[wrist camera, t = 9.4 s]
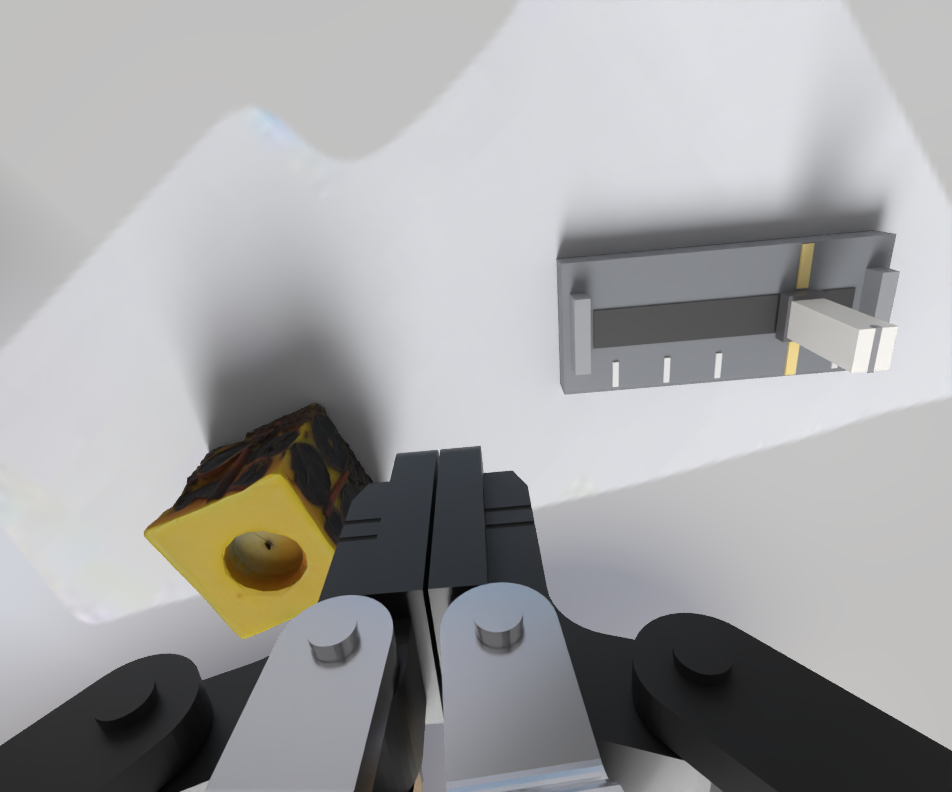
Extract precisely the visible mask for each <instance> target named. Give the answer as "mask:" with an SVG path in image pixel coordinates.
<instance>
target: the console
mask: <svg viewBox="0 0 952 792" xmlns="http://www.w3.org/2000/svg"><path fill="white" fill-rule="evenodd" d="M895 237H896V234H893V233H887V232H881V231H875V230H874V231H863V232H852V233H841V234H829V235H818V236H807V237H796V238H785V239H774V240H763V241H751V242H740V243H729V244H718V245H707V246H696V247H685V248H673V249H662V250H651V251H640V252H629V253H618V254H606V255H595V256H584V257H573V258H562V259H557V286H558V320H559V355H560V384H561V387H562V389H563V391H564V394H577V393H589V392H600V391H612V390H624V389H636V388H647V387H659V386H671V385H682V384H694V383H706V382H718V381H729V380H741V379H753V378H765V377H776V376H788V375H800V374H811V373H823V372H835V371H847V370H845V369H843V368H841V367H839V366H838V365H836V364H834V363H832V362H830V361H828V360H827V359H825V358H823V357H821V356H819V355H817V354H816V353H814V352H812V351H810V350H808V349H807V348H805V347H803V346H801V345H799V344H797V343H796V342H781V341H780V340H778V339H776V338H775V335H776V327H777V320H778V312H779V304H780V296H781V293H788V292H799V291H811V290H820V291H823V292H826V293H828V296H827V300H830V301H833V302H835V303H838V304H840V305H843V306H846V307H848V308H851V309H854V310H856V311H859V312H862V313H864V314H867V315H869V316H872V317H875V318H877V319H880V320H883V321H885V322H888V323H889V320H890V316H891V311H892V306H893V301H894V297H895V292H896V287H897V282H898V277H899V273H900V271H896V270H892V269H889V267H890V262H891V257H892V252H893V247H894V242H895Z"/></svg>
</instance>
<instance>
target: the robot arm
mask: <svg viewBox="0 0 952 792" xmlns="http://www.w3.org/2000/svg"><path fill="white" fill-rule="evenodd" d="M436 723H444V736H445V737H444V738H445V762H446V784H447V785H446V786H447V792H952V751H951V750H949V749H948V748H946V747H944V746H942V745H941V744H939V743H937V742H935V741H933V740H932V739H930V738H928V737H927V736H925V735H923V734H921V733H920V732H918V731H916V730H914V729H913V728H911V727H909V726H907V725H906V724H904V723H902V722H901V721H899V720H897V719H895V718H893V717H892V716H890V715H888V714H887V713H885V712H883V711H881V710H880V709H878V708H876V707H874V706H873V705H871V704H869V703H867V702H866V701H864V700H862V699H860V698H859V697H857V696H855V695H853V694H851V693H850V692H848V691H846V690H844V689H843V688H841V687H839V686H838V685H836V684H834V683H832V682H831V681H829V680H827V679H825V678H824V677H822V676H820V675H819V674H817V673H815V672H813V671H812V670H810V669H808V668H806V667H805V666H803V665H801V664H799V663H797V662H796V661H794V660H792V659H791V658H789V657H787V656H785V655H784V654H782V653H780V652H778V651H777V650H775V649H773V648H771V647H770V646H768V645H766V644H764V643H763V642H761V641H759V640H758V639H756V638H754V637H752V636H751V635H749V634H747V633H745V632H744V631H742V630H740V629H738V628H737V627H735V626H733V625H731V624H729V623H727V622H725V621H722V620H719V619H716V618H714V617H710V616H706V615H701V614H693V613H677V614H669V615H666V616H662V617H659V618H657V619H655V620H653V621H651V622H650V623H648V624H647V625H646V626H644V627H643V629H642V630H641V631H640V632H639V633H638V635H637V637H636V639H635V640H633V639H627V638H622V637H617V636H612V635H606V634H602V633H598V632H594V631H591V630H589V629H586V628H583V627H581V626H579V625H578V624H575V623H574V622H572V621H571V620H569V619H568V618H566V617H565V616H564V615H563V614H562V613H561V612H560V611H559V610H558V609H557V608H556V607H555V605H554V604H553V602H552V600H551V599H550V597H549V594H548V590H547V586H546V581H545V575H544V570H543V566H542V560H541V554H540V549H539V544H538V539H537V533H536V528H535V525H534V518H533V512H532V509H531V502H530V497H529V491H528V486H527V485H526V484H525V483H524V482H523V481H522V480H521V479H520V478H519V477H518V476H517V475H516V474H515V473H514V472H513V471H503V472H492V473H483V463H482V453H481V446H475V447H463V448H452V449H441V450H440V456H439V452H438V450H431V451H420V452H409V453H398V454H397V455H396V458H395V462H394V467H393V471H392V475H391V479H390V482H380V483H369V484H368V485H367V486H366V487H365V488H364V489H363V490H362V491H361V492H360V493H359V494H358V495H357V496H356V497H355V498H354V499H353V500H352V502H351V505H350V508H349V511H348V514H347V517H346V520H345V525H344V526H343V529H342V532H341V535H340V542H338V544H337V547H336V550H335V553H334V555H333V558H332V561H331V564H330V567H329V570H328V573H327V576H326V579H325V582H324V585H323V588H322V591H321V594H320V597H319V600H318V603H317V604H314V605H312V606H311V607H309V608H307V609H305V610H304V611H302V612H301V613H300V614H298V615H297V616H296V617H295V618H294V619H293V620H292V621H291V622H290V623H288V625H287V626H286V627H285V628H284V630H283V631H282V633H281V635H280V636H279V638H278V639H277V642H276V644H275V646H274V648H273V650H272V652H271V654H270V656H268V657H266V658H264V659H262V660H259V661H257V662H254V663H252V664H249V665H246V666H243V667H240V668H237V669H234V670H231V671H228V672H225V673H222V674H220V675H217V676H214V677H211V678H208V679H205V680H202V679H201V677H200V674H199V672H198V669H197V667H196V665H195V664H194V663H193V662H192V661H191V660H190V659H188V658H186V657H184V656H181V655H176V654H158V655H152V656H148V657H144V658H141V659H137V660H135V661H132V662H130V663H128V664H125V665H123V666H121V667H119V668H117V669H115V670H114V671H112V672H110V673H109V674H107V675H105V676H104V677H102V678H101V679H99V680H98V681H96V682H95V683H93V684H92V685H90V686H89V687H87V688H86V689H84V690H83V691H82V692H80V693H78V694H77V695H76V696H74V697H73V698H71V699H69V700H68V701H66V702H65V703H64V704H62V705H60V706H59V707H58V708H56V709H54V710H53V711H52V712H50V713H49V714H47V715H46V716H44V717H43V718H41V719H40V720H38V721H37V722H35V723H34V724H32V725H31V726H29V727H28V728H26V729H25V730H23V731H22V732H20V733H19V734H17V735H16V736H14V737H13V738H11V739H10V740H8V741H7V742H5V743H4V744H2V745H1V746H0V792H422V790H423V774H422V768H421V764H422V757H423V745H424V731H425V724H436Z"/></svg>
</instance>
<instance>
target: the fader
mask: <svg viewBox="0 0 952 792" xmlns="http://www.w3.org/2000/svg"><path fill="white" fill-rule="evenodd" d="M827 296H828V293H826V292H823V291H820V290H811V291H799V292H788V293H781V296H780V304H779V312H778V320H777V327H776V335H775V338H776V339H778V340H780V341H781V342H796V343H797V344H799V345H801V346H803V347H805V348H807V349H808V350H810V351H812V352H814V353H816V354H817V355H819V356H821V357H823V358H825V359H827V360H828V361H830V362H832V363H834V364H836V365H838V366H839V367H841V368H843V369H845V370H847V371H849V372H850V373H857V372H867V373H872V372H874V371H881V370H889V367H890V363H891V358H892V353H893V349H894V344H895V339H896V335H897V330H898V326H896V325H893V324H890V323H888V322H885V321H883V320H880V319H877V318H875V317H872V316H869V315H867V314H864V313H862V312H859V311H856V310H854V309H851V308H848V307H846V306H843V305H840V304H838V303H835V302H833V301H830V300H827Z"/></svg>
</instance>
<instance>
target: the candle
mask: <svg viewBox="0 0 952 792" xmlns="http://www.w3.org/2000/svg"><path fill="white" fill-rule="evenodd" d="M200 464H201V465H200V466H198V467H197V469H196V470H195V471H194V472H193V473H192V475H191V476H190V477H188V478H187V484H186V486H185V488H184V490H183V492H182V494H181V496H180V497H179V498H178V500H177V501H176V503H175V504H174V505H173V507H171V508H170V509H168V510H166V511H165V512H163V514H162V515H161V516H160V517H159V518H158V519H157V520H155V521H154V522H153V523H152V524H151V525H149V526H148V527H147V529H146V530H145V531H144V536H145V538H146V539H147V540H148V541H149V542H150V543H151V544H152V545H153V546H154V547H155V548H156V549H157V550H158V551H159V552H160V553H161V554H162V555H163V556H164V557H165V558H166V559H167V560H168V561H169V562H170V563H171V565H172V566H173V567H174V568H175V569H176V570H177V571H178V572H179V573H180V574H181V575H182V576H183V577H184V578H185V579H186V580H187V581H188V582H189V583H190V584H191V585H192V586H193V587H194V588H195V589H196V590H197V591H198V592H199V593H200V594H201V595H202V596H203V598H204V599H205V600H207V602H208V603H209V604H210V605H211V606H212V608H213V609H214V610H215V611H216V612H217V613H218V614H219V615H220V616H221V618H222V619H223V620H224V621H225V622H226V623H227V624H228V625H229V627H230V628H231V629H232V630H233V631H234V632H235V633H236V634H237V635H238V636H239V637H240V638H242V639H245V638H248V637H251V636H253V635H256V634H258V633H260V632H263V631H265V630H267V629H269V628H272V627H274V626H276V625H279V624H281V623H283V622H285V621H288V620H290V619H292V618H295V617H296V616H297V615H298V614H300V613H301V612H302V611H304V610H305V609H307V608H309V607H311V606H312V605H314V604H317V603H318V600H319V597H320V594H321V591H322V588H323V585H324V582H325V579H326V576H327V573H328V570H329V567H330V564H331V561H332V558H333V555H334V553H335V550H336V547H337V544H338V542H340V535H341V532H342V529H343V526H344V525H345V520H346V517H347V514H348V511H349V508H350V505H351V502H352V500H353V499H354V498H355V497H356V496H357V495H358V494H359V493H360V492H361V491H362V490H363V489H364V488H365V487H366V486H367V485H368V484H369V483H373V481H372V480H371V479H370V477H369V476H368V475H367V474H365V473H364V469H363V468H362V467H361V465H360V462H359V461H357V460H356V457H355V455H354V453H353V452H352V451H351V450H350V449H349V445H348V444H347V443H345V441H344V440H343V439H342V437H341V436H340V434H339V433H338V431H337V429H336V428H335V426H334V425H333V423H332V422H331V420H330V419H329V418H328V416H327V415H326V412H325V409H324V408H322V407H320V406H319V405H317V404H315V403H314V404H311V405H309V406H307V407H305V408H303V409H301V410H298V411H296V412H294V413H292V414H290V415H287V416H283V417H282V418H279V419H277V420H275V421H273V422H271V423H269V424H268V425H264V426H262V427H260V428H257V429H255V430H254V432H253V433H247V434H246V439H245V440H244V441H242V442H239V443H235V444H232V445H230V446H224V447H219V448H218V449H214V450H212V452H210V453H207V454H206V456H205V458H204V459H203V460H202V461H201V463H200Z"/></svg>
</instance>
